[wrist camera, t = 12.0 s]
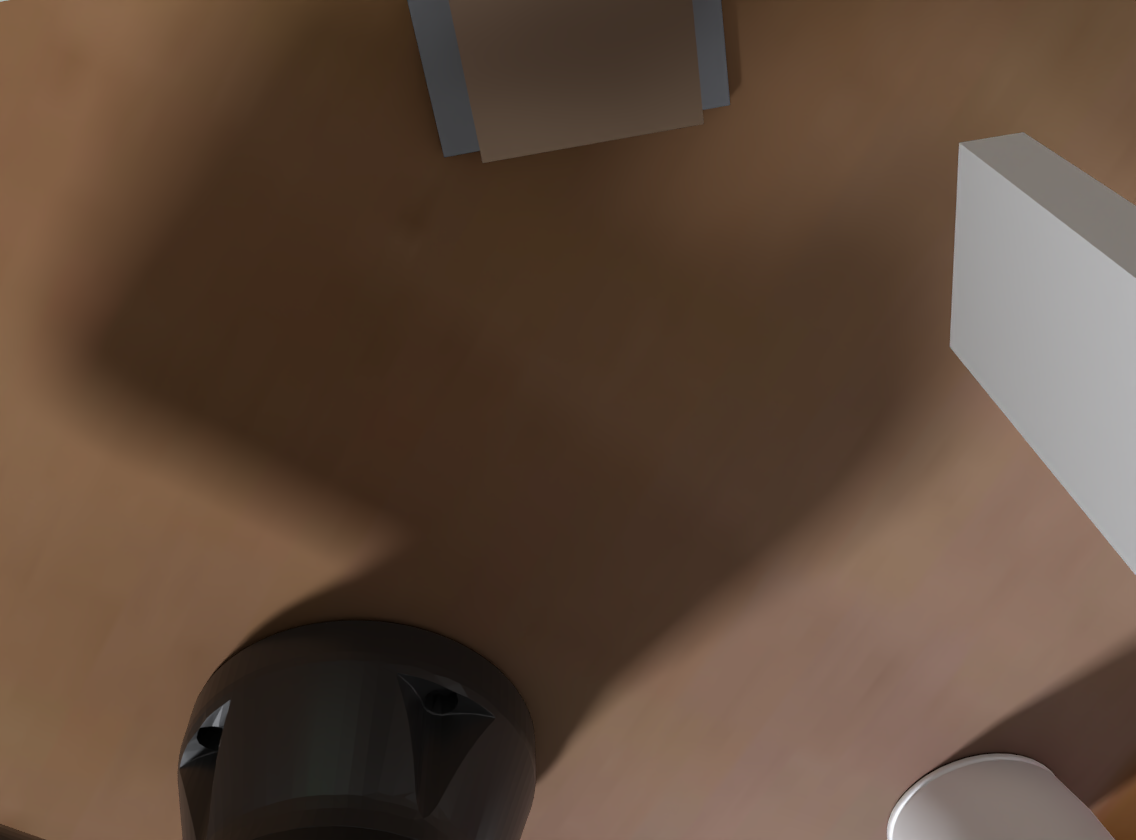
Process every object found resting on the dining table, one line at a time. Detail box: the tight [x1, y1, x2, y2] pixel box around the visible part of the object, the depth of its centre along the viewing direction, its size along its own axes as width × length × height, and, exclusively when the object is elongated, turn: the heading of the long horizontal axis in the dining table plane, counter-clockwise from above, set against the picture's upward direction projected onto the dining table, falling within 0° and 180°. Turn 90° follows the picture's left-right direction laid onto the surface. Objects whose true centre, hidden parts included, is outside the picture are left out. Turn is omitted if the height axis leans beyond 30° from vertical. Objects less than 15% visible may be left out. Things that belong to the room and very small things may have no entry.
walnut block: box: [449, 0, 704, 163], centre depth 28 cm, size 6×6×7 cm
